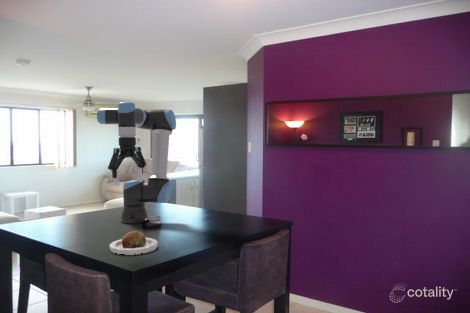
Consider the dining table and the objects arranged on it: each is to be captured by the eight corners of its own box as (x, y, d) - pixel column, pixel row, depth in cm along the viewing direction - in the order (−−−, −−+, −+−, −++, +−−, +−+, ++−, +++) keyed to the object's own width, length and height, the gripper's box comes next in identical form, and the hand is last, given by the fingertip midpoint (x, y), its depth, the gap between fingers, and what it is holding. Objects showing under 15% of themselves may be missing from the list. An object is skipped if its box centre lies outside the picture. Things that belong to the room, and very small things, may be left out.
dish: (136, 239, 168) (136, 235, 168) (166, 246, 157) (166, 241, 157) (100, 249, 152) (100, 245, 152) (131, 257, 141) (131, 252, 141)
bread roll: (147, 252, 158) (148, 233, 161) (142, 248, 149) (144, 228, 152) (123, 252, 158) (125, 233, 161) (118, 248, 148) (120, 228, 151)
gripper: (141, 136, 178) (142, 179, 179) (98, 137, 157) (100, 186, 158) (153, 136, 174) (154, 180, 175) (110, 137, 153) (111, 187, 154)
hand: (128, 183), depth 167 cm, fingers open, 13 cm apart
